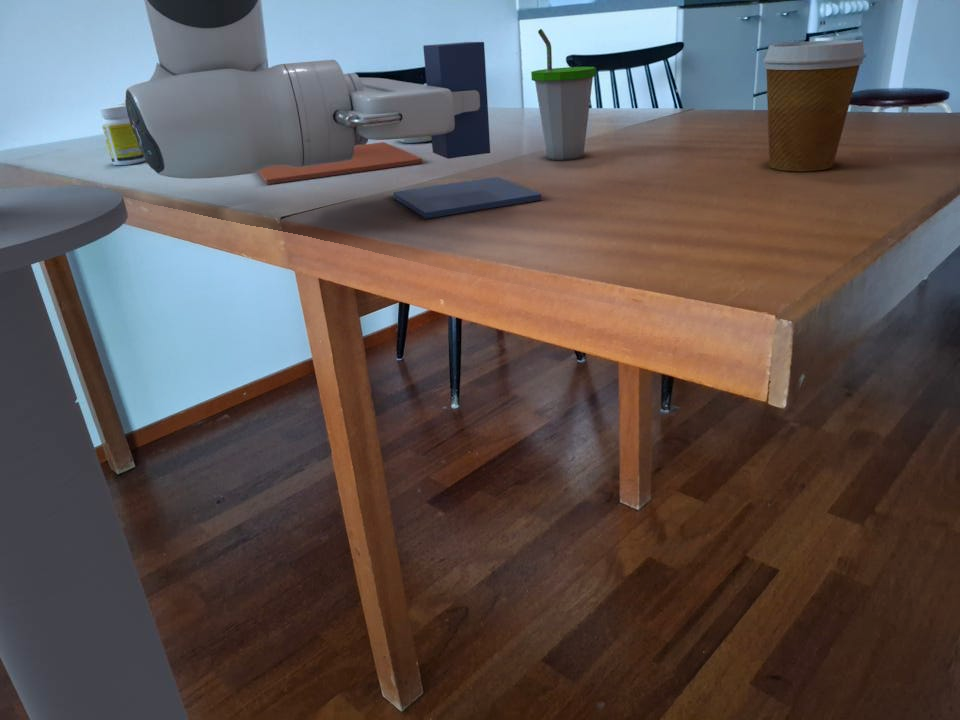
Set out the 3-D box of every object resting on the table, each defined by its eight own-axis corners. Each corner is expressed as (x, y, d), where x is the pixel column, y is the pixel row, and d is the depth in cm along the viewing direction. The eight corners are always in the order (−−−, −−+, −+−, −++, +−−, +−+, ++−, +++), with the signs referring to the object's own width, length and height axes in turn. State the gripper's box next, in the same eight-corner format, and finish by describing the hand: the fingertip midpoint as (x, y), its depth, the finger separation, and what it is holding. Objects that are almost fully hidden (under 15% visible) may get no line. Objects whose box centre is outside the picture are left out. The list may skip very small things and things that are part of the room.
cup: (581, 149, 96) (580, 25, 89) (606, 157, 89) (607, 23, 83) (526, 156, 94) (520, 29, 88) (546, 165, 87) (542, 29, 81)
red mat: (267, 184, 88) (266, 179, 88) (251, 163, 105) (250, 159, 104) (422, 163, 95) (421, 158, 94) (384, 146, 111) (384, 142, 111)
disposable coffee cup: (734, 167, 79) (743, 47, 74) (792, 154, 83) (805, 40, 78) (810, 178, 71) (826, 46, 66) (870, 164, 75) (890, 38, 70)
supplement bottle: (152, 160, 114) (137, 104, 111) (128, 166, 110) (112, 108, 107) (130, 159, 116) (115, 104, 113) (106, 165, 112) (90, 108, 109)
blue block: (447, 158, 69) (438, 45, 65) (432, 152, 73) (422, 45, 69) (490, 153, 71) (484, 41, 66) (473, 147, 75) (466, 41, 70)
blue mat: (425, 219, 67) (425, 212, 67) (393, 197, 76) (392, 192, 76) (541, 200, 71) (541, 193, 71) (497, 182, 80) (497, 176, 80)
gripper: (343, 81, 56) (507, 65, 60) (300, 72, 73) (429, 60, 77) (355, 164, 58) (511, 143, 63) (310, 136, 76) (435, 122, 80)
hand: (465, 97), depth 70 cm, fingers closed on blue block, 4 cm apart
